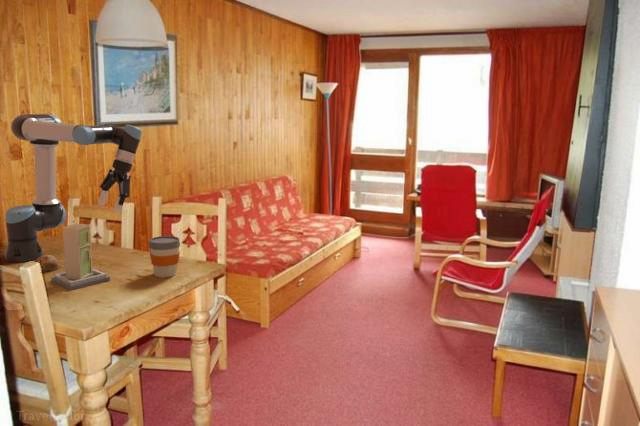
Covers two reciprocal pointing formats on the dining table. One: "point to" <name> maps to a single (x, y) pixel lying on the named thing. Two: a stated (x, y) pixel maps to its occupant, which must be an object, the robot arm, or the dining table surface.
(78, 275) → the toy refrigerator
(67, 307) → the dining table surface
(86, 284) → the base plate
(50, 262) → the bread roll
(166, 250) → the reusable coffee cup
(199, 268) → the dining table surface
